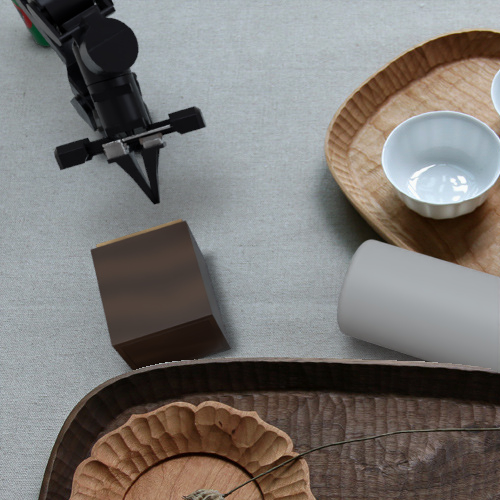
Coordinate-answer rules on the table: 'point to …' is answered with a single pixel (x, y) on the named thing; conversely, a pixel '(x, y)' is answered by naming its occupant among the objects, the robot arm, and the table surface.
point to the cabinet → (159, 298)
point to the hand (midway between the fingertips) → (157, 203)
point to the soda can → (31, 26)
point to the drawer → (138, 233)
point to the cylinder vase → (421, 306)
